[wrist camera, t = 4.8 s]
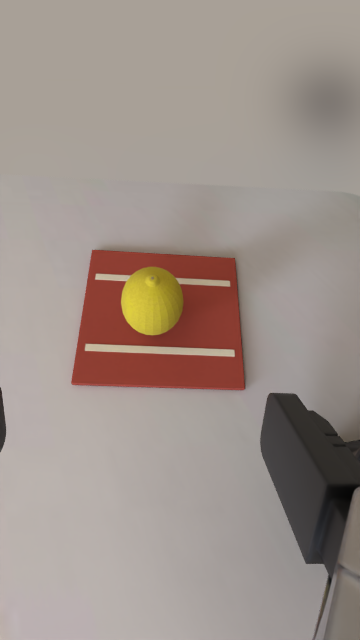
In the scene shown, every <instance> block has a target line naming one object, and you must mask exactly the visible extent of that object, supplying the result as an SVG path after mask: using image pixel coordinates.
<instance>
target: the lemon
mask: <svg viewBox="0 0 360 640" xmlns="http://www.w3.org/2000/svg"><path fill="white" fill-rule="evenodd" d="M121 306H122V311H123V315H124V317H125V319H126V321H127V322H128V323H129V324H130V326H131V327H132V328H133V329H135V330H136V331H138V332H140V333H143V334H145V335H159V334H162V333H165V332H167V331H168V330H170V329H171V328H172V327H173V326H174V325H175V324H176V323H177V322H178V320H179V318H180V316H181V313H182V310H183V294H182V289H181V287H180V285H179V282H178V281H177V279H176V278H175V277H174V276H173V275H172V274H171V273H170V272H168V271H167V270H164V269H162V268H158V267H146V268H142V269H140V270H138V271H136V272H135V273H134V274H132V275H131V276H130V278H129V279H128V280H127V281H126V283H125V286H124V288H123V291H122V298H121Z"/></svg>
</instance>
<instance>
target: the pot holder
mask: <svg viewBox="0 0 360 640" xmlns="http://www.w3.org/2000/svg"><path fill="white" fill-rule="evenodd" d="M146 267H158V268H162V269H164V270H167V271H168V272H170V273H171V274H172V275H173V276H174V277H175V278H176V279H177V281H178V282H179V285H180V287H181V289H182V294H183V310H182V313H181V316H180V318H179V320H178V322H177V323H176V324H175V325H174V326H173V327H172V328H171V329H170V330H168V331H167V332H165V333H162V334H159V335H145V334H143V333H140V332H138V331H136V330H135V329H133V328H132V327H131V326H130V324H129V323H128V322H127V321H126V319H125V317H124V315H123V311H122V306H121V298H122V291H123V288H124V286H125V283H126V281H127V280H128V279H129V278H130V276H131V275H132V274H134V273H135V272H136V271H138V270H140V269H142V268H146ZM71 383H72V385H94V386H126V387H158V388H190V389H222V390H244V389H245V383H244V370H243V356H242V343H241V330H240V317H239V304H238V291H237V278H236V265H235V258H221V257H205V256H188V255H171V254H154V253H137V252H120V251H103V250H92V255H91V261H90V268H89V274H88V280H87V287H86V293H85V299H84V306H83V312H82V318H81V325H80V331H79V337H78V344H77V350H76V356H75V363H74V369H73V375H72V382H71Z"/></svg>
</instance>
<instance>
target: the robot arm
mask: <svg viewBox="0 0 360 640" xmlns="http://www.w3.org/2000/svg"><path fill="white" fill-rule="evenodd" d="M5 437H6V424H5V416H4V407H3V399H2V391H1V388H0V452H1V450H2V448H3V445H4V442H5ZM260 444H261V452H262V456H263V459H264V461H265V463H266V466H267V468H268V471H269V473H270V476H271V478H272V481H273V483H274V486H275V488H276V491H277V493H278V496H279V498H280V500H281V503H282V505H283V508H284V510H285V513H286V515H287V518H288V520H289V523H290V525H291V528H292V530H293V533H294V535H295V538H296V540H297V542H298V545H299V547H300V550H301V552H302V555H303V557H304V560H305V562H306V564H324V565H325V567H326V569H327V572H328V574H329V575H328V578H327V581H326V585H325V589H324V593H323V597H322V602H321V606H320V610H319V614H318V618H317V622H316V626H315V630H314V635H313V639H312V640H360V462H359V461H358V460H357V458H356V457H355V456H354V454H353V453H352V452H351V451H350V449H349V448H348V447H346V444H345V443H344V441H343V440H342V439H341V438H340V436H338V434H337V432H336V431H335V430H334V429H333V427H332V426H331V425H330V423H329V422H328V421H327V420H325V419H324V418H323V417H321V416H320V415H318V414H317V413H316V412H314V411H308V410H307V409H306V407H305V406H304V405H303V403H302V402H301V400H300V399H299V398H298V396H297V395H296V394H288V393H270V394H269V395H268V398H267V402H266V408H265V413H264V419H263V425H262V431H261V438H260Z"/></svg>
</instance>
